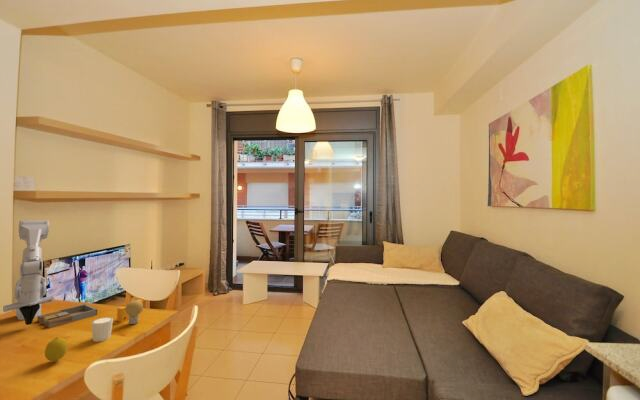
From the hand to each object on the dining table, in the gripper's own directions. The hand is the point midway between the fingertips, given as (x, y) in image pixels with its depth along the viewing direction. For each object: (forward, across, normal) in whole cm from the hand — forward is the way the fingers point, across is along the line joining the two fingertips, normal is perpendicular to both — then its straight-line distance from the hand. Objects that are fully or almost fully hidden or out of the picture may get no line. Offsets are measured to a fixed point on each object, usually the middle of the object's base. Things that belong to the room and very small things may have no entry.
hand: (28, 323), depth 116 cm
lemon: (+3, -4, -37) cm, 37 cm away
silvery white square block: (+2, +11, 0) cm, 11 cm away
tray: (+2, +17, 0) cm, 17 cm away
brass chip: (+2, +7, 0) cm, 7 cm away
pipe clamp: (+3, +29, -18) cm, 34 cm away
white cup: (+3, +12, -31) cm, 33 cm away
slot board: (+3, +13, 0) cm, 13 cm away
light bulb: (+3, +26, -27) cm, 38 cm away
